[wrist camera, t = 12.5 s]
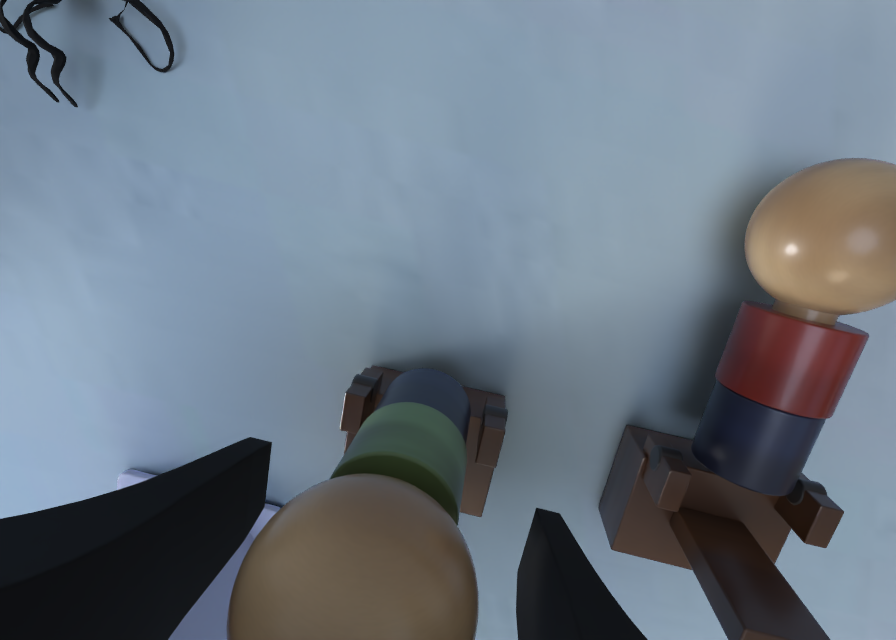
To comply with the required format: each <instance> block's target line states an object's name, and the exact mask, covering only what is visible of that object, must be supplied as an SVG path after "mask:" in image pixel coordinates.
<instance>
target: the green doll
mask: <svg viewBox="0 0 896 640" xmlns="http://www.w3.org/2000/svg"><path fill="white" fill-rule="evenodd" d="M470 417H471V407H470V402H469V399H468V396H467V394H466V392H465V391H464V389H463V388H462V386H461V385H460V384H459V383H458V382H457V381H456V380H455V379H453V378H452V377H451V376H449V375H447V374H446V373H443V372H441V371H438V370H434V369H427V368H421V369H414V370H410V371H407V372H405V373H403V374H401V375H399V376H398V377H397V378H396V379H394V380H393V381H392V383H391V384H390V385H389V387H388V388H387V390H386V392H385V393H384V395H383V397H382V399H381V400H380V402H379V404H378V405H377V407H376V409H375V411H374V412H373V413H372V414H371V415H370V416H369V417H368V418H367V419H366V420H365V421H364V423H363V424H362V426H361V427H360V429H359V431H358V432H357V434H356V436H355V437H354V439H353V441H352V442H351V444H350V446H349V447H348V449H347V451H346V452H345V454H344V456H343V457H342V459H341V461H340V462H339V464H338V466H337V467H336V469H335V471H334V472H333V474H332V476H331V477H330V479H329V480H326V481H323V482H321V483H319V484H317V485H314V486H312V487H311V488H309V489H307V490H305V491H304V492H302V493H300V494H299V495H297V496H296V497H294V498H293V499H291V500H290V501H289V502H288V503H286V504H285V505H284V506H283V507H282V508H281V509H280V510H279V511H278V512H277V513H275V514H274V515H273V516H272V517H271V519H270V520H269V521H268V522H267V524H266V525H265V526H264V527H263V529H262V530H261V531H260V532H259V534H258V535H257V536H256V538H255V539H254V541H253V543H252V544H251V546H250V548H249V550H248V551H247V553H246V555H245V557H244V559H243V561H242V564H241V566H240V568H239V571H238V573H237V576H236V579H235V582H234V585H233V589H232V593H231V597H230V602H229V608H228V617H227V640H475V636H476V630H477V623H478V587H477V580H476V573H475V568H474V564H473V561H472V558H471V555H470V552H469V549H468V546H467V544H466V542H465V539H464V537H463V535H462V534H461V532H460V530H459V528H458V527H457V526H458V520H459V513H460V506H461V499H462V493H463V486H464V479H465V472H466V465H467V450H466V442H467V435H468V429H469V423H470Z"/></svg>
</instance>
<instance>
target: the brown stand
mask: <svg viewBox="0 0 896 640" xmlns="http://www.w3.org/2000/svg"><path fill="white" fill-rule="evenodd" d="M692 443H693V440H689V439H685V438H681V437H676V436H672V435H668V434H664V433H659V432H655V431H651V430H647V429H642V428H638V427H634V426H630V425H626V428H625V431H624V434H623V436H622V439H621V442H620V445H619V448H618V451H617V454H616V457H615V460H614V463H613V466H612V469H611V472H610V475H609V478H608V481H607V484H606V487H605V490H604V493H603V496H602V499H601V502H600V505H599V511H600V514H601V518H602V521H603V524H604V527H605V531H606V534H607V537H608V540H609V544H610V547H611V549H612V550H614V551H618V552H622V553H626V554H630V555H634V556H638V557H642V558H646V559H650V560H654V561H658V562H662V563H666V564H670V565H674V566H678V567H682V568H686V569H690V570H693V572H694V573H695V575H696V577H697V579H698V581H699V583H700V585H701V587H702V589H703V591H704V593H705V595H706V597H707V599H708V601H709V603H710V605H711V607H712V609H713V611H714V613H715V615H716V616H717V618H718V620H719V622H720V624H721V626H722V628H723V630H724V632H725V634H726V636H727V638H728V640H830V638H829V637H828V636H827V634H826V633H825V632H824V630H823V629H822V628H821V626H820V625H819V624H818V622H817V621H816V620H815V618H814V617H813V616H812V614H811V613H810V612H809V610H808V609H807V608H806V606H805V605H804V604H803V602H802V601H801V599H800V598H799V597H798V595H797V594H796V593H795V591H794V590H793V589H792V587H791V586H790V585H789V583H788V582H787V581H786V579H785V578H784V577H783V575H782V574H781V573H780V571H779V570H778V569H777V567H776V566H775V565H774V564H775V562H776V560H777V558H778V556H779V554H780V551H781V549H782V547H783V545H784V543H785V541H786V539H787V537H788V534H789V532H790V530H791V529H792V530H793V531H794V532H795V533H796V534H797V535H798V536H799V538H800V539H801V540H802V541H803V542H804V543H806V544H810V545H814V546H818V547H822V548H826V547H827V546H828V544H829V542H830V540H831V538H832V536H833V534H834V532H835V530H836V528H837V526H838V524H839V522H840V520H841V518H842V516H843V514H844V511H843V510H842V509H841V508H840V507H839V506H838V505H836V504H835V503H834V502H833V501H832V500H831V499H830V498H829V497H828V496H827V492H826V490H825V488H824V487H823V486H822V485H821V484H820V483H818V482H814V481H810V480H809V479H808V478H807V477H806V476H805V475H804V474H803V473H801V474H800V476H799V479H798V481H797V483H796V485H795V487H794V489H793V491H792V492H791V493H790V494H788V495H785V496H772V495H766V494H762V493H758V492H754V491H751V490H748V489H746V488H743V487H741V486H738V485H736V484H734V483H732V482H729V481H727V480H726V479H724V478H722V477H720V476H718V475H717V474H715V473H713V472H712V471H710V470H709V469H708V468H706V467H705V466H704V465H702V464H701V463H700V462H699V461H698V460H697V459H696V458H695V457H694V455H693V453H692V450H691V445H692Z"/></svg>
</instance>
